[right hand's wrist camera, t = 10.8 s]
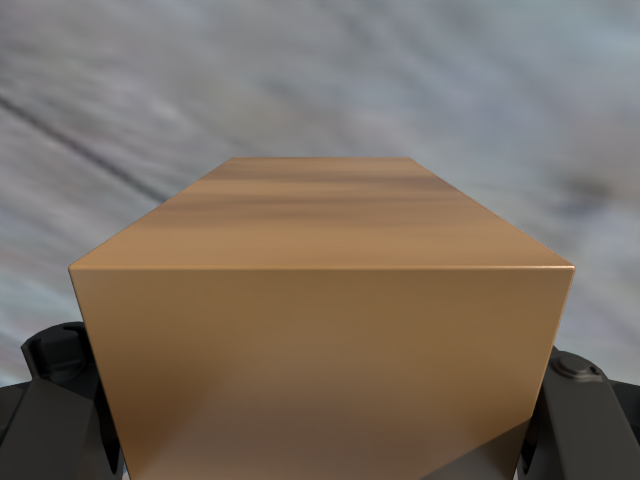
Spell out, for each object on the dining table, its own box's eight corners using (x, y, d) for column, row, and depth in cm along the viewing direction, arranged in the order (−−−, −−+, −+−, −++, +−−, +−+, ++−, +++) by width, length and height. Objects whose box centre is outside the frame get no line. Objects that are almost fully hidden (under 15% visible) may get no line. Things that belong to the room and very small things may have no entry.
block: (395, 311, 18) (487, 570, 8) (246, 311, 18) (155, 570, 8) (409, 156, 15) (579, 266, 5) (231, 156, 15) (64, 266, 5)
